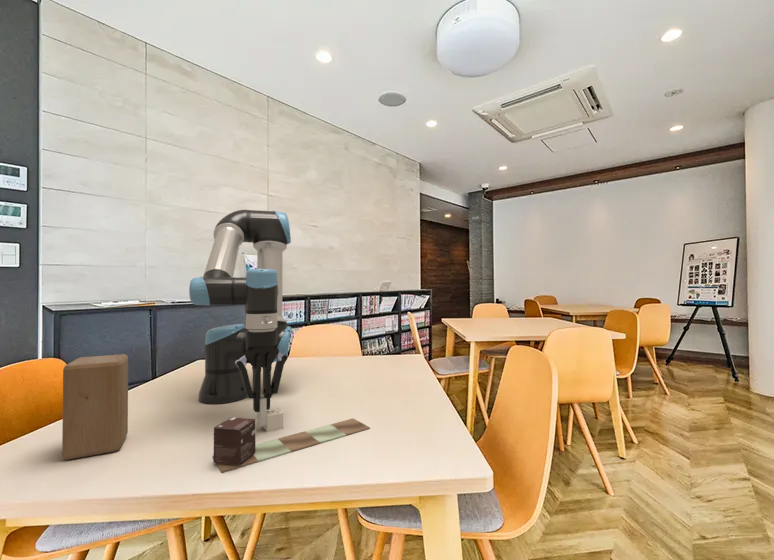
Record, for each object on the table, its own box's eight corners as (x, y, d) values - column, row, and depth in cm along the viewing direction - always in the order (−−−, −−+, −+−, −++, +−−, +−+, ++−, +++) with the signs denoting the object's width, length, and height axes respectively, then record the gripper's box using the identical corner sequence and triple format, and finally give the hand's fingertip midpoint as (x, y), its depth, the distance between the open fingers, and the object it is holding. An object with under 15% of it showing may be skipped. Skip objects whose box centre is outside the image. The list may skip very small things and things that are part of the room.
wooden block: (60, 462, 74) (61, 365, 74) (75, 443, 83) (76, 357, 83) (120, 452, 78) (120, 360, 79) (128, 435, 87) (129, 353, 88)
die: (262, 427, 92) (262, 411, 92) (278, 423, 94) (278, 408, 95) (267, 432, 89) (267, 415, 89) (283, 428, 91) (283, 412, 91)
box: (239, 466, 71) (239, 429, 71) (212, 464, 72) (212, 427, 72) (256, 452, 77) (256, 418, 77) (231, 450, 78) (231, 416, 78)
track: (212, 457, 76) (212, 455, 76) (353, 419, 97) (353, 418, 97) (221, 473, 69) (221, 471, 69) (370, 428, 91) (370, 427, 91)
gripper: (239, 333, 84) (238, 435, 83) (292, 329, 91) (292, 422, 91) (230, 330, 89) (230, 425, 89) (281, 326, 97) (281, 413, 97)
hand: (261, 423), depth 90 cm, fingers closed
